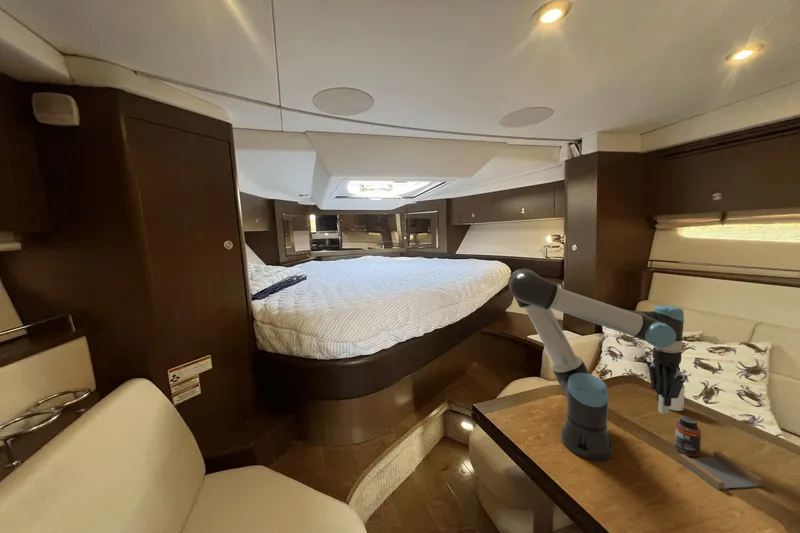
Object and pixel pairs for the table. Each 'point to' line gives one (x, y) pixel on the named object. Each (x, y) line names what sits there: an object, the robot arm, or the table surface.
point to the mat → (721, 471)
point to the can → (678, 401)
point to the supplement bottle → (688, 437)
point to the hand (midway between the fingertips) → (663, 412)
